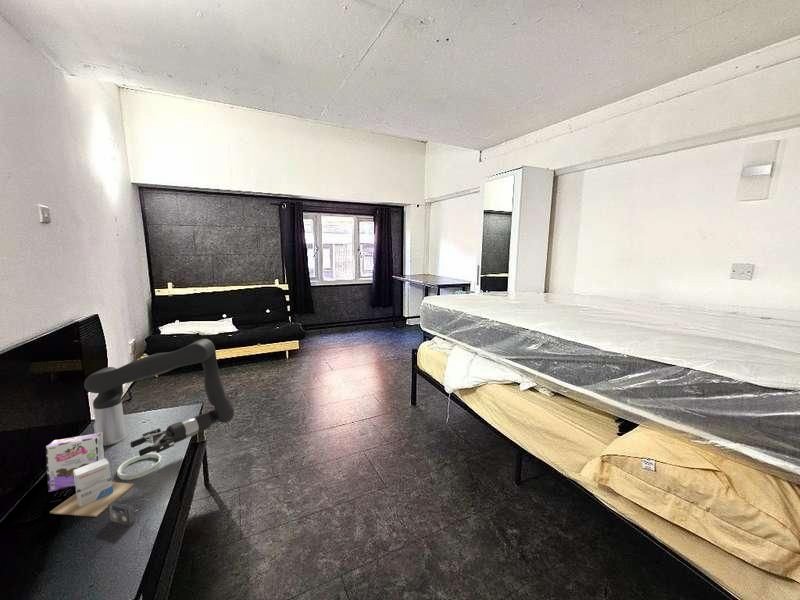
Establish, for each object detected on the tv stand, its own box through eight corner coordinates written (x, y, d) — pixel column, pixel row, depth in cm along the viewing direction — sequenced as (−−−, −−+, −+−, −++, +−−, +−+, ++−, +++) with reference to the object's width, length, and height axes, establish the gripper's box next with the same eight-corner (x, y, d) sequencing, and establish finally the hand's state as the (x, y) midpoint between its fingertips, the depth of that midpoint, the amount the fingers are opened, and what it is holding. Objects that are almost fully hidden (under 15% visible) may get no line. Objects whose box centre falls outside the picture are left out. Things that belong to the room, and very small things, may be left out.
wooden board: (49, 513, 103) (49, 511, 102) (93, 482, 116) (93, 480, 116) (96, 516, 102) (96, 515, 102) (134, 485, 116) (134, 483, 115)
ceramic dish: (108, 478, 119) (108, 474, 118) (139, 456, 132) (138, 452, 131) (141, 480, 118) (141, 476, 118) (169, 457, 131) (169, 453, 131)
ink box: (110, 486, 114) (106, 456, 112) (113, 493, 111) (109, 462, 109) (76, 500, 107) (72, 469, 105) (79, 508, 104) (74, 476, 102)
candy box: (47, 492, 110) (44, 446, 110) (56, 483, 115) (53, 439, 115) (99, 481, 116) (96, 437, 116) (105, 473, 121) (103, 431, 121)
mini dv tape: (135, 522, 100) (133, 506, 99) (130, 526, 99) (128, 509, 98) (115, 517, 102) (113, 500, 101) (110, 520, 100) (108, 504, 100)
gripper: (175, 416, 135) (127, 433, 122) (190, 427, 128) (141, 447, 114) (176, 432, 136) (128, 451, 123) (191, 444, 129) (143, 465, 115)
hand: (134, 449), depth 119 cm, fingers open, 8 cm apart
